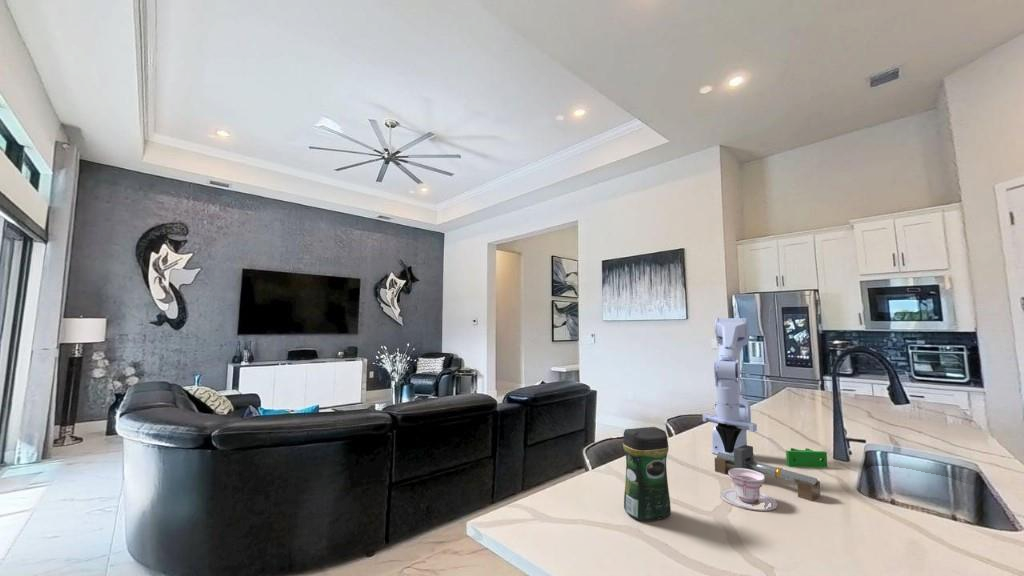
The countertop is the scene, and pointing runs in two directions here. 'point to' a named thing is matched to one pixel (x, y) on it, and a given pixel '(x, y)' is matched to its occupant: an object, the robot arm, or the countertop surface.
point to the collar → (742, 456)
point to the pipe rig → (806, 484)
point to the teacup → (747, 490)
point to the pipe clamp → (806, 458)
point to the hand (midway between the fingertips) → (729, 452)
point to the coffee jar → (646, 474)
